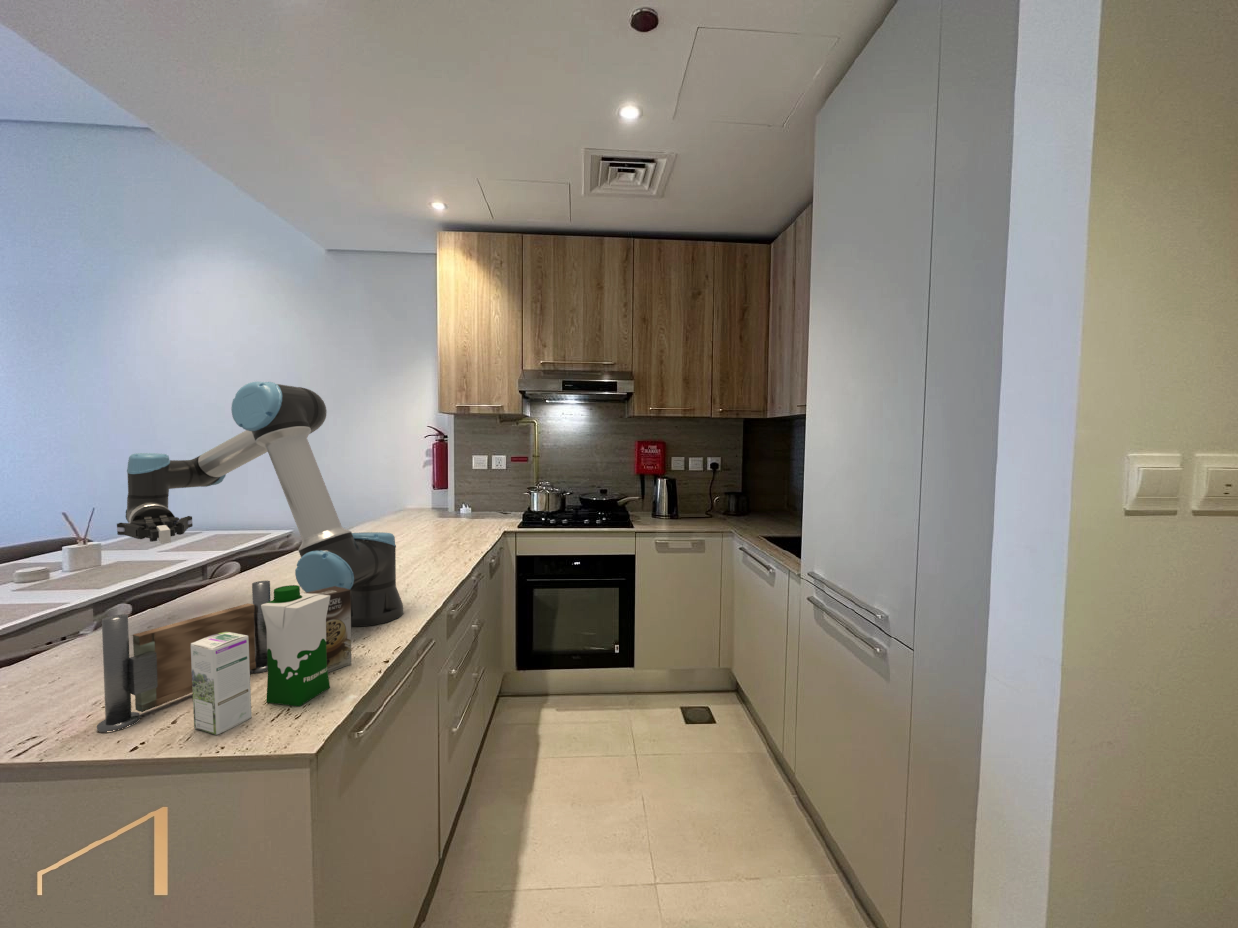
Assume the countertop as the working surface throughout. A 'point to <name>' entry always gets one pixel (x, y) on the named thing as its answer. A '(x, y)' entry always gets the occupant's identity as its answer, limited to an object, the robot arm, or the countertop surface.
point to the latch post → (123, 674)
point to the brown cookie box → (337, 627)
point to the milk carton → (296, 645)
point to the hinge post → (260, 624)
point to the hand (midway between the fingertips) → (165, 536)
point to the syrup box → (221, 682)
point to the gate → (187, 650)
